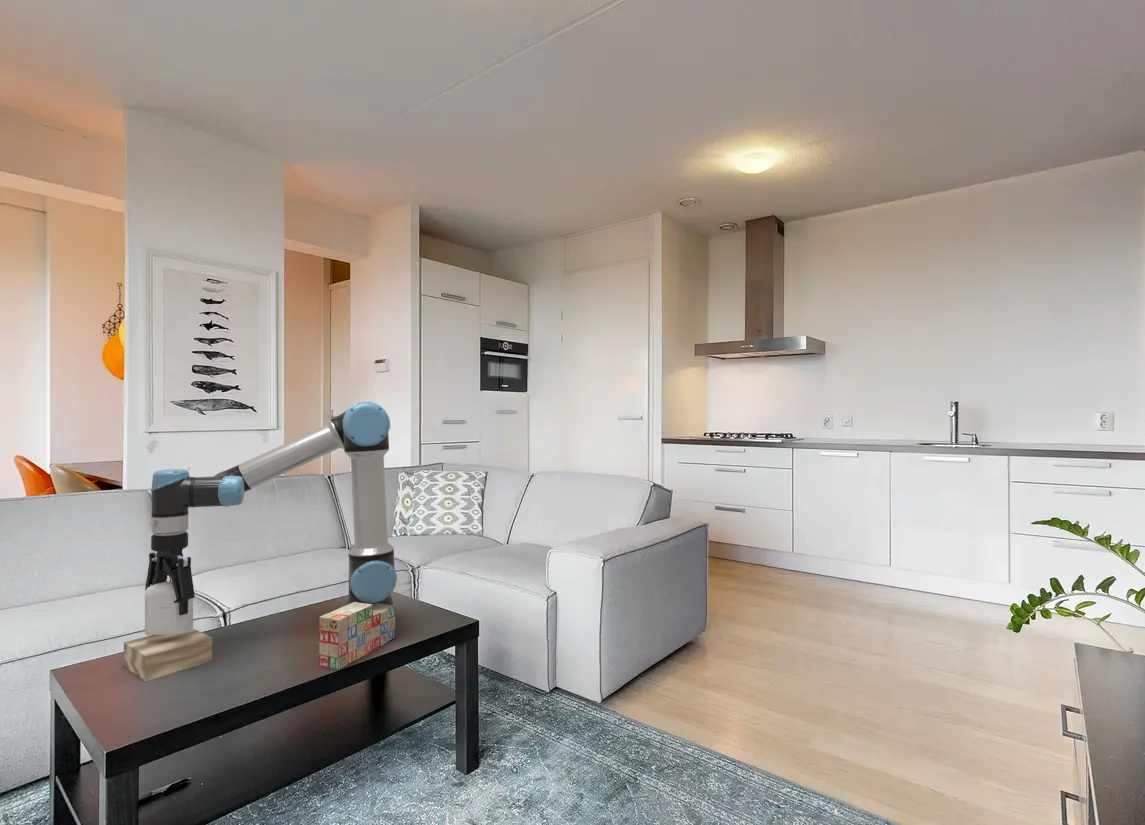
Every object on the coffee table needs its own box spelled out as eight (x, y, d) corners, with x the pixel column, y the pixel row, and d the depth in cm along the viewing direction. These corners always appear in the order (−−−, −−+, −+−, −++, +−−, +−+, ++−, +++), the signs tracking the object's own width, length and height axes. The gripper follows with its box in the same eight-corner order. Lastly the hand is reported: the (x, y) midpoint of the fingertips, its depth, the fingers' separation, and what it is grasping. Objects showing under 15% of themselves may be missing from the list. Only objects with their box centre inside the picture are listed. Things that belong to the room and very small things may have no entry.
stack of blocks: (376, 636, 163) (377, 591, 163) (395, 639, 160) (395, 594, 161) (318, 666, 143) (318, 615, 143) (338, 670, 140) (339, 619, 141)
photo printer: (141, 636, 141) (141, 585, 141) (151, 630, 145) (152, 580, 145) (187, 635, 142) (187, 584, 142) (196, 628, 147) (196, 579, 147)
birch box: (212, 662, 145) (212, 637, 145) (145, 682, 134) (146, 656, 134) (188, 648, 153) (188, 625, 154) (123, 667, 142) (123, 642, 142)
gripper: (128, 531, 146) (127, 621, 146) (179, 540, 136) (178, 637, 135) (161, 526, 153) (160, 612, 152) (212, 534, 142) (211, 627, 142)
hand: (169, 624), depth 144 cm, fingers closed on photo printer, 9 cm apart
